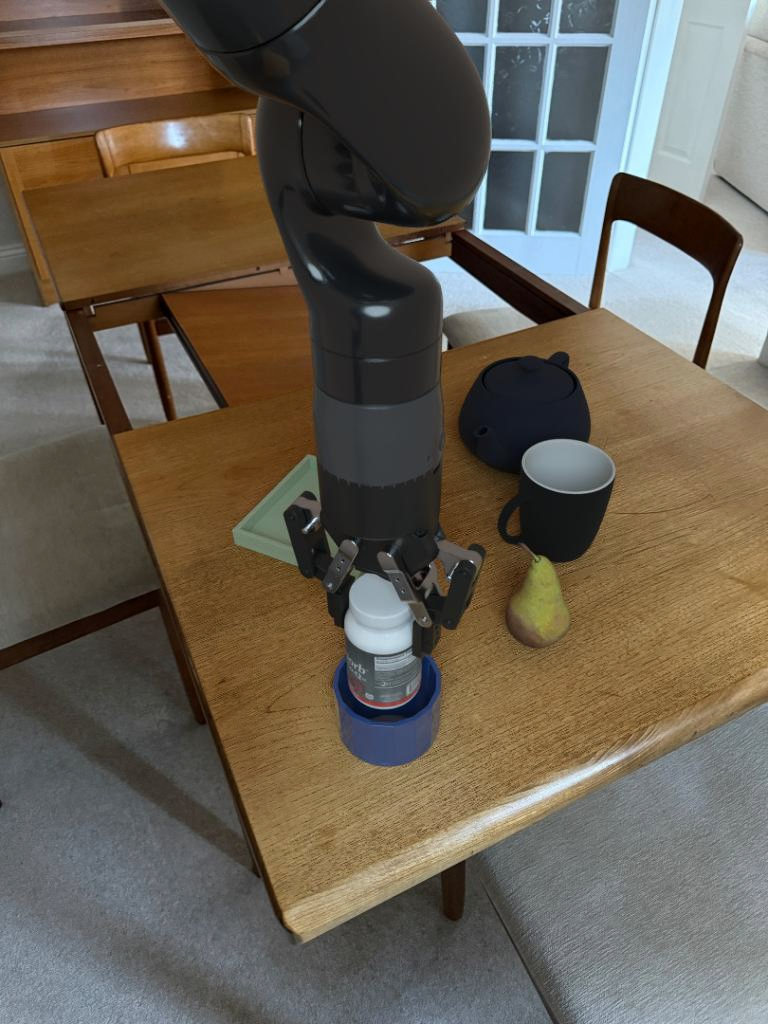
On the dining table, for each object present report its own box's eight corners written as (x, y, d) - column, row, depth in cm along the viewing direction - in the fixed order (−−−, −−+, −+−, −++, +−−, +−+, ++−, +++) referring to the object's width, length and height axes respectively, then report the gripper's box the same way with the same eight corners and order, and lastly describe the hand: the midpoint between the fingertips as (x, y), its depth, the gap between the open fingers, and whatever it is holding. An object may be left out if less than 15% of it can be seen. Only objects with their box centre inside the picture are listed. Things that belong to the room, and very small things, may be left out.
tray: (360, 588, 73) (359, 574, 72) (234, 544, 79) (231, 530, 77) (424, 501, 84) (424, 487, 82) (309, 467, 89) (307, 453, 88)
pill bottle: (339, 664, 59) (331, 574, 53) (405, 645, 60) (406, 555, 54) (361, 722, 55) (355, 631, 49) (432, 700, 56) (436, 610, 50)
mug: (563, 505, 82) (576, 429, 76) (617, 554, 76) (636, 475, 70) (471, 540, 78) (476, 462, 72) (520, 594, 72) (531, 514, 66)
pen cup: (412, 783, 57) (412, 743, 54) (319, 741, 60) (313, 700, 57) (455, 701, 63) (457, 660, 59) (367, 666, 66) (365, 625, 62)
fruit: (553, 670, 65) (572, 572, 57) (493, 644, 67) (503, 547, 60) (575, 628, 69) (596, 531, 61) (518, 605, 71) (530, 509, 63)
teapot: (503, 390, 102) (511, 306, 94) (614, 422, 95) (632, 334, 87) (410, 487, 86) (410, 395, 78) (536, 532, 79) (549, 436, 71)
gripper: (241, 445, 44) (273, 636, 54) (468, 512, 38) (454, 709, 49) (308, 387, 49) (325, 572, 59) (516, 439, 44) (494, 632, 54)
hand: (384, 633), depth 54 cm, fingers closed on pill bottle, 5 cm apart
